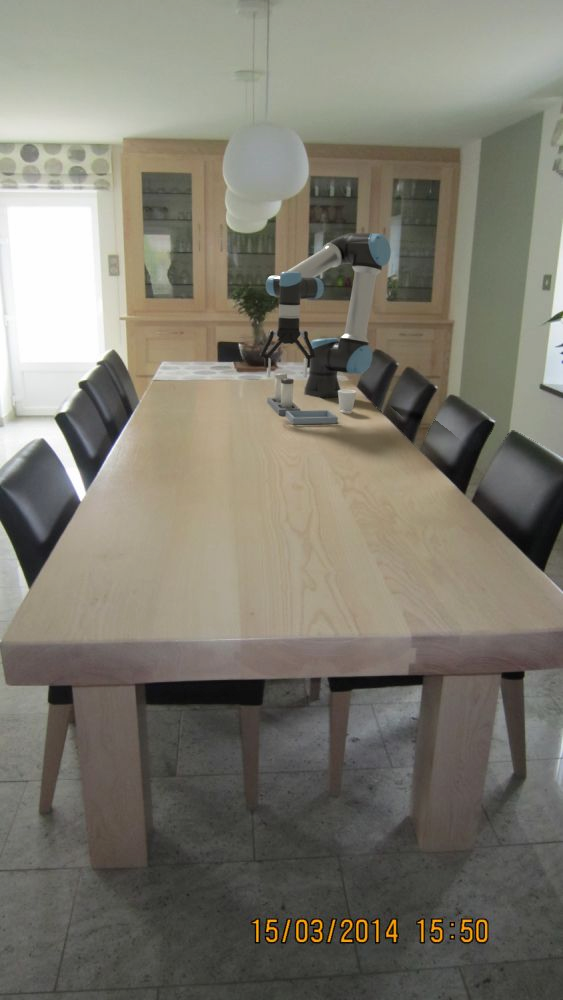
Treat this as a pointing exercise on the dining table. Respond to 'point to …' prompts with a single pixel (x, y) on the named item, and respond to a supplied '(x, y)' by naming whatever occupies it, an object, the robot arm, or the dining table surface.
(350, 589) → the dining table surface
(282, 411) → the fuse strip
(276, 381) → the cylinder
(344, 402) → the cup
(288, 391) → the cylinder
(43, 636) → the dining table surface
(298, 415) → the parts tray
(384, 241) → the robot arm
